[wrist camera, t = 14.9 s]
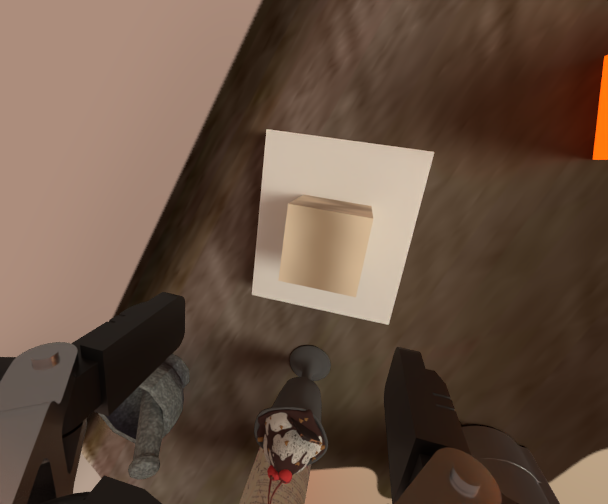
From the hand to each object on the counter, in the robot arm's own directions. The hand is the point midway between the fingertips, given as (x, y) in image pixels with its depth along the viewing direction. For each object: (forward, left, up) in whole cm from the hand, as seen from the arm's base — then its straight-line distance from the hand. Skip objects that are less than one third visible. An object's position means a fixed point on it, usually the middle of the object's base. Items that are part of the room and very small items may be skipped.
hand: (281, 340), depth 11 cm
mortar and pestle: (+18, +24, -20) cm, 36 cm away
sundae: (0, +17, -20) cm, 26 cm away
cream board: (0, 0, -20) cm, 20 cm away
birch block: (0, 0, -17) cm, 17 cm away
